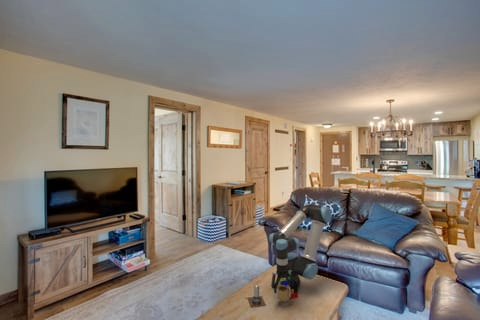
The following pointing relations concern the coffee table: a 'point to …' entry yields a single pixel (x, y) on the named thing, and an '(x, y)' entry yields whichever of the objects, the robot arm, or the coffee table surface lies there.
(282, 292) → the ring
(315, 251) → the robot arm
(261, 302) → the peg on square base
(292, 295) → the puzzle toy
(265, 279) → the coffee table surface
